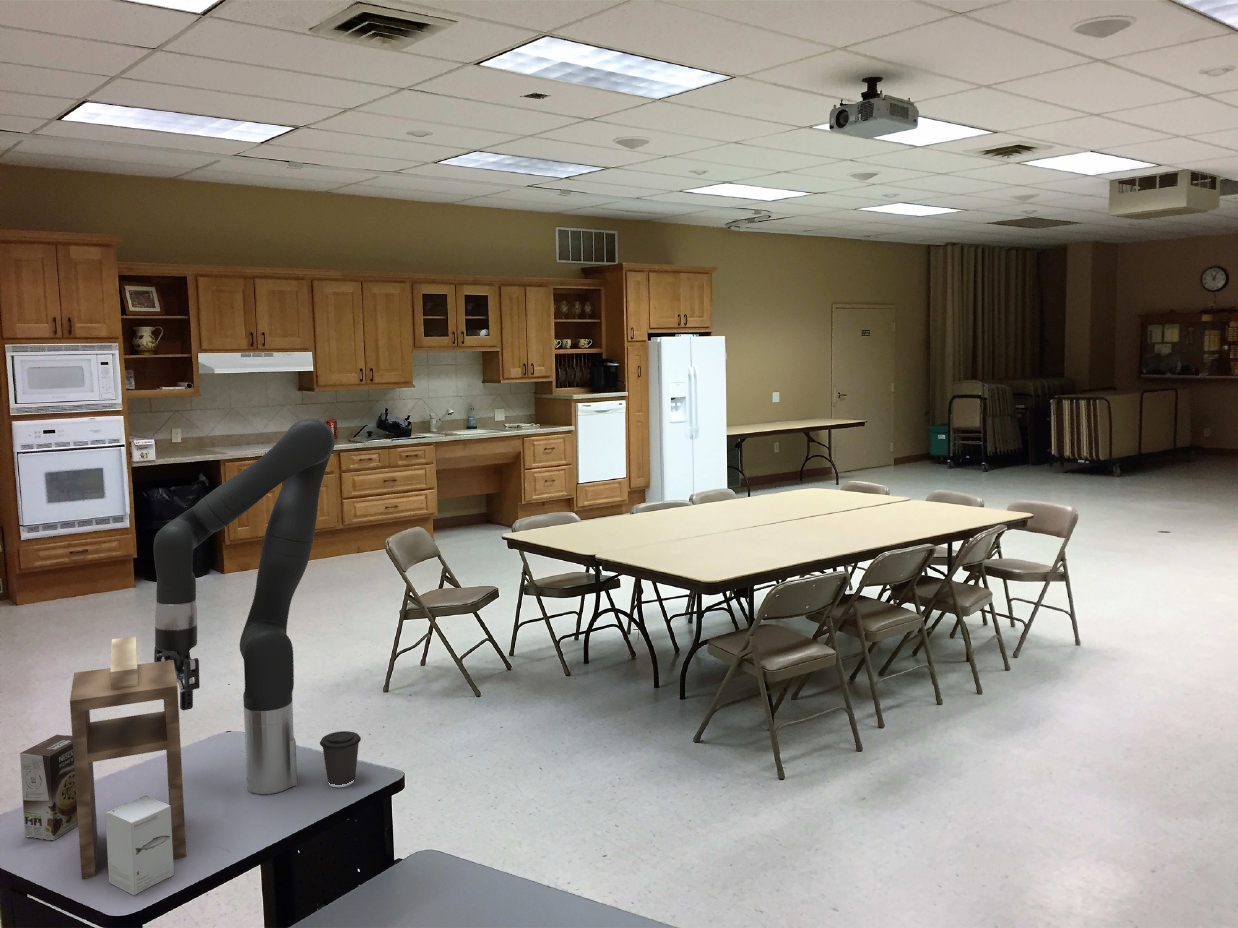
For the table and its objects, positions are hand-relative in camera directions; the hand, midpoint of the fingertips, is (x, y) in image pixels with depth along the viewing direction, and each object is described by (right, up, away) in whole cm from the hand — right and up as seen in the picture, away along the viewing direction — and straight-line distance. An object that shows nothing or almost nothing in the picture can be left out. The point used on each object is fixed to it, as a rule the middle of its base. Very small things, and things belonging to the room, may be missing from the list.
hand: (176, 703), depth 190 cm
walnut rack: (+1, -21, -19) cm, 28 cm away
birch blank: (-1, +10, -18) cm, 21 cm away
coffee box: (-16, -20, -12) cm, 29 cm away
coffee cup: (+30, -18, +7) cm, 36 cm away
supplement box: (+7, -22, -29) cm, 37 cm away
